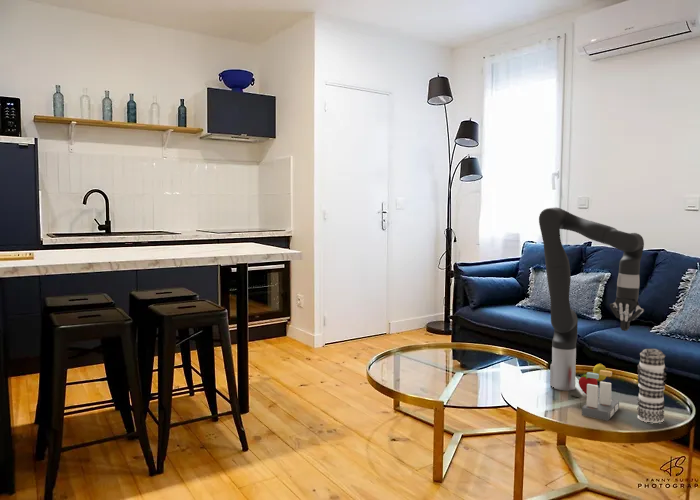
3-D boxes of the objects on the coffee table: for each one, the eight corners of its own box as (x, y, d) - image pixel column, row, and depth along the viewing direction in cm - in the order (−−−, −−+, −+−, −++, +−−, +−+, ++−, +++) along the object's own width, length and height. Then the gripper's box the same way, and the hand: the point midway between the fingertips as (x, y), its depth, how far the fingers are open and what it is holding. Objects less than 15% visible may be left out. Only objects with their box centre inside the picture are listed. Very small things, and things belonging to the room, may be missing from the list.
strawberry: (600, 396, 225) (601, 372, 224) (584, 398, 223) (584, 374, 222) (591, 392, 230) (591, 368, 230) (575, 393, 229) (575, 369, 228)
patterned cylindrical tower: (645, 412, 208) (646, 345, 206) (670, 420, 200) (672, 350, 198) (630, 417, 203) (632, 349, 201) (656, 426, 195) (658, 355, 193)
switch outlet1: (586, 406, 206) (586, 373, 205) (587, 404, 208) (588, 372, 207) (597, 408, 204) (597, 375, 203) (598, 406, 205) (599, 373, 204)
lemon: (608, 384, 240) (608, 365, 239) (594, 383, 241) (594, 365, 240) (605, 380, 245) (605, 361, 244) (591, 379, 246) (591, 361, 245)
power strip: (581, 415, 207) (581, 407, 206) (596, 400, 221) (596, 392, 221) (608, 421, 201) (609, 412, 200) (622, 405, 215) (622, 397, 215)
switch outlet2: (599, 403, 209) (599, 370, 208) (600, 402, 210) (601, 369, 209) (610, 405, 206) (610, 372, 205) (611, 404, 208) (611, 371, 207)
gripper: (606, 283, 218) (602, 328, 219) (640, 289, 207) (637, 335, 209) (616, 282, 222) (613, 325, 224) (650, 287, 212) (647, 332, 213)
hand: (624, 330), depth 216 cm, fingers closed
